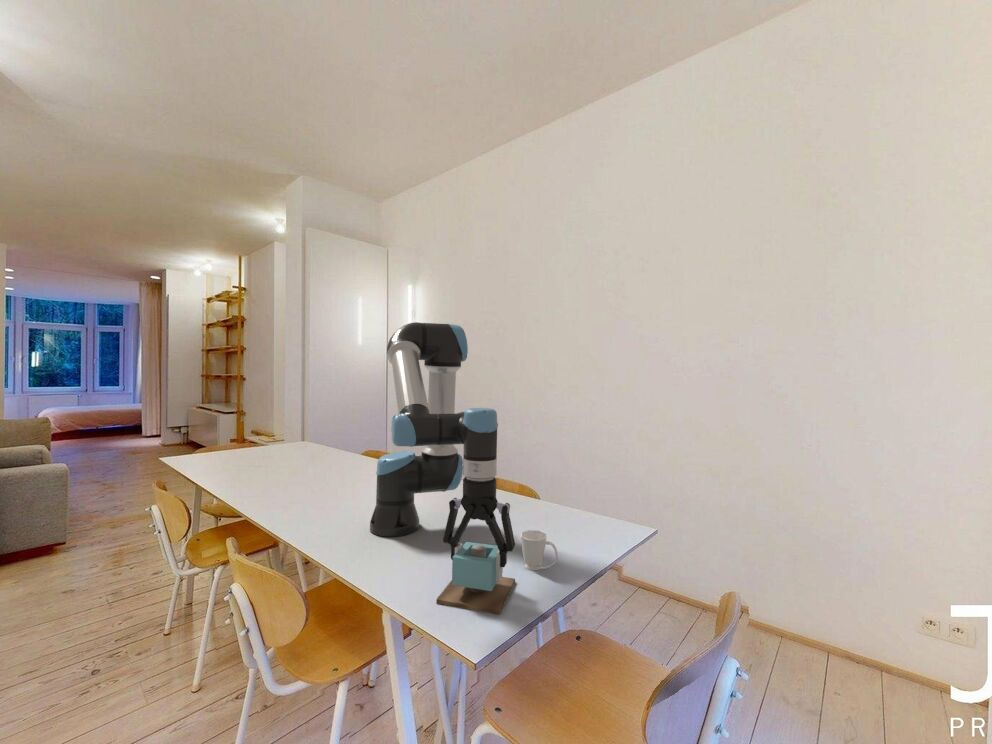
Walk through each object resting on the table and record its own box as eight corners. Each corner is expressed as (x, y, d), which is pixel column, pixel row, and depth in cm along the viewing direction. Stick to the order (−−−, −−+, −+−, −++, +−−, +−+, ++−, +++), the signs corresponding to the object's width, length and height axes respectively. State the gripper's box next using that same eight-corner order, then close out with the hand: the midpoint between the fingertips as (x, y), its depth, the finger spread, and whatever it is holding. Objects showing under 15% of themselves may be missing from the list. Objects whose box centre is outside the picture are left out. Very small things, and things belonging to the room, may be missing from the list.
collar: (451, 584, 92) (452, 557, 92) (465, 567, 101) (466, 541, 101) (491, 591, 90) (492, 562, 90) (502, 572, 98) (502, 546, 98)
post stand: (436, 603, 91) (437, 557, 91) (459, 573, 104) (460, 533, 104) (499, 614, 87) (500, 566, 87) (515, 582, 100) (515, 540, 100)
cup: (525, 558, 113) (526, 528, 113) (561, 566, 109) (562, 535, 109) (514, 568, 107) (515, 537, 107) (552, 578, 102) (552, 545, 102)
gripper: (428, 477, 95) (426, 577, 95) (523, 485, 89) (521, 593, 89) (441, 469, 102) (440, 563, 102) (530, 477, 96) (528, 576, 96)
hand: (478, 577), depth 95 cm, fingers closed on collar, 9 cm apart
